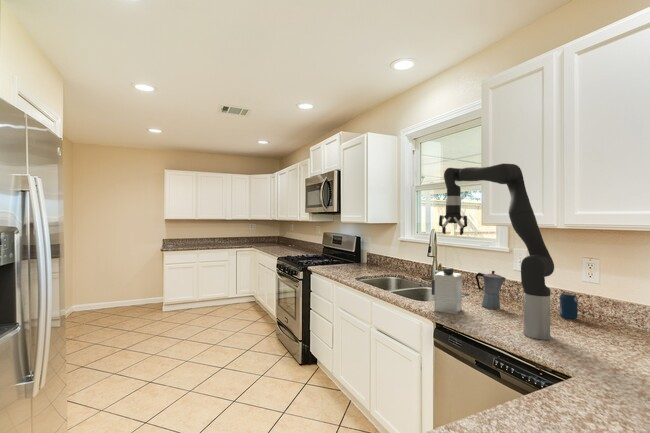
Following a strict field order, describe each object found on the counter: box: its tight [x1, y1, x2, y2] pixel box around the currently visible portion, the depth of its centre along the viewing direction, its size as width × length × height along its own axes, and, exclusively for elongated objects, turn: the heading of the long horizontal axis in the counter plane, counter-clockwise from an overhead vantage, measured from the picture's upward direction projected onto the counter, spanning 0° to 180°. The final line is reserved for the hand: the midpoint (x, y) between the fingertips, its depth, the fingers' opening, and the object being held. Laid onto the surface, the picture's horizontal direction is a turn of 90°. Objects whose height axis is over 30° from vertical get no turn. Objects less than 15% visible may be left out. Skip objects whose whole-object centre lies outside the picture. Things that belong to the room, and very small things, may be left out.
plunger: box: [442, 267, 455, 275], centre depth 167 cm, size 9×9×20 cm
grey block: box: [431, 271, 463, 316], centre depth 168 cm, size 14×11×19 cm
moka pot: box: [474, 270, 507, 310], centre depth 174 cm, size 10×15×20 cm, turn 53°
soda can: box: [559, 291, 579, 321], centre depth 155 cm, size 7×7×12 cm
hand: (452, 234), depth 174 cm, fingers open, 8 cm apart
